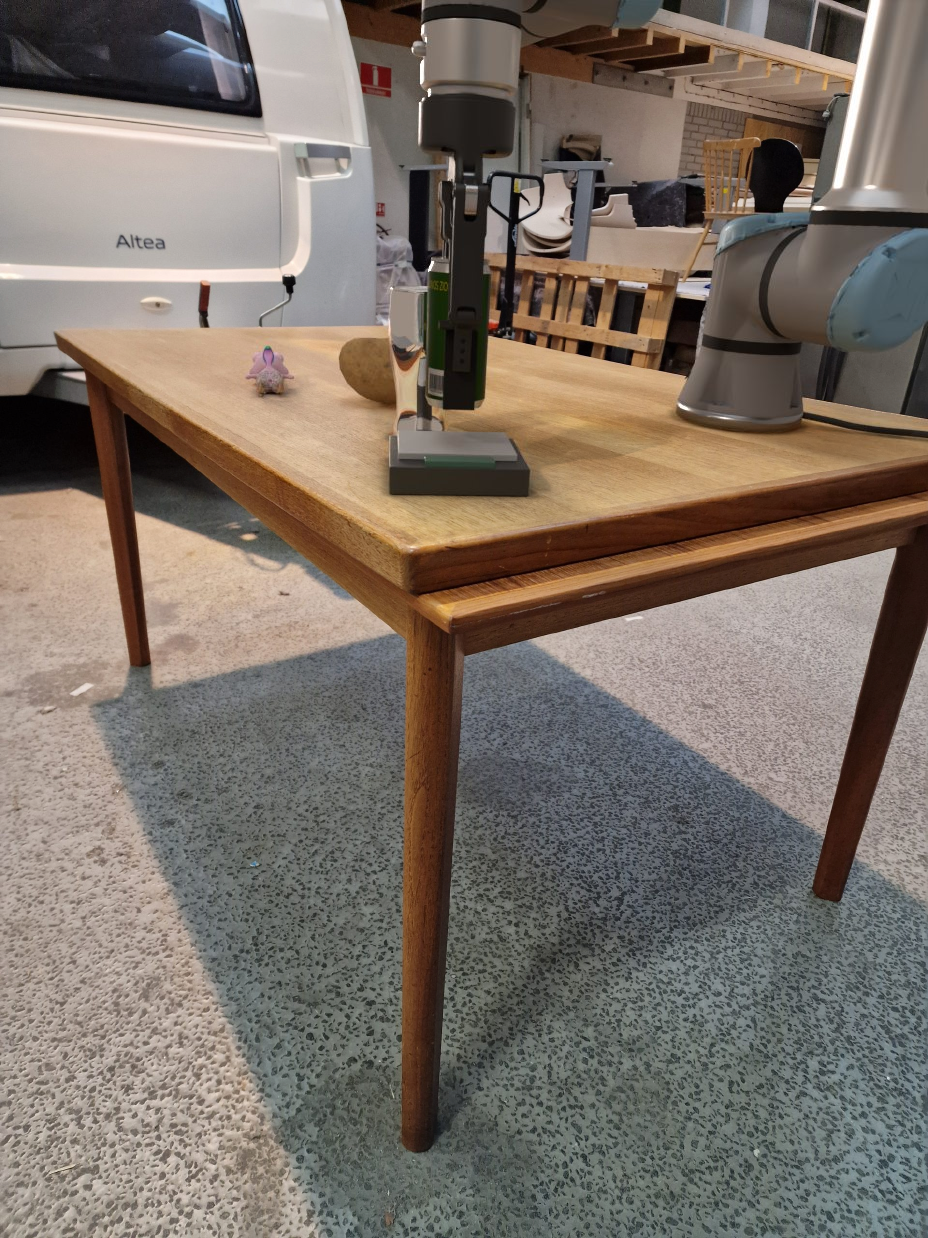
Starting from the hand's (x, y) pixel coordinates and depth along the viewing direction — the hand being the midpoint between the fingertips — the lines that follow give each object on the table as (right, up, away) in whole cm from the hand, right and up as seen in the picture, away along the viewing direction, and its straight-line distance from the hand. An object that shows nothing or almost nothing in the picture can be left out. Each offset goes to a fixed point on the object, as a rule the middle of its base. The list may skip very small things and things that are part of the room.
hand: (455, 401), depth 73 cm
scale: (0, -6, +2) cm, 7 cm away
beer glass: (-4, 0, +15) cm, 15 cm away
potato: (-8, +8, +31) cm, 33 cm away
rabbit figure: (-26, +12, +38) cm, 47 cm away
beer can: (0, 0, 0) cm, 1 cm away
